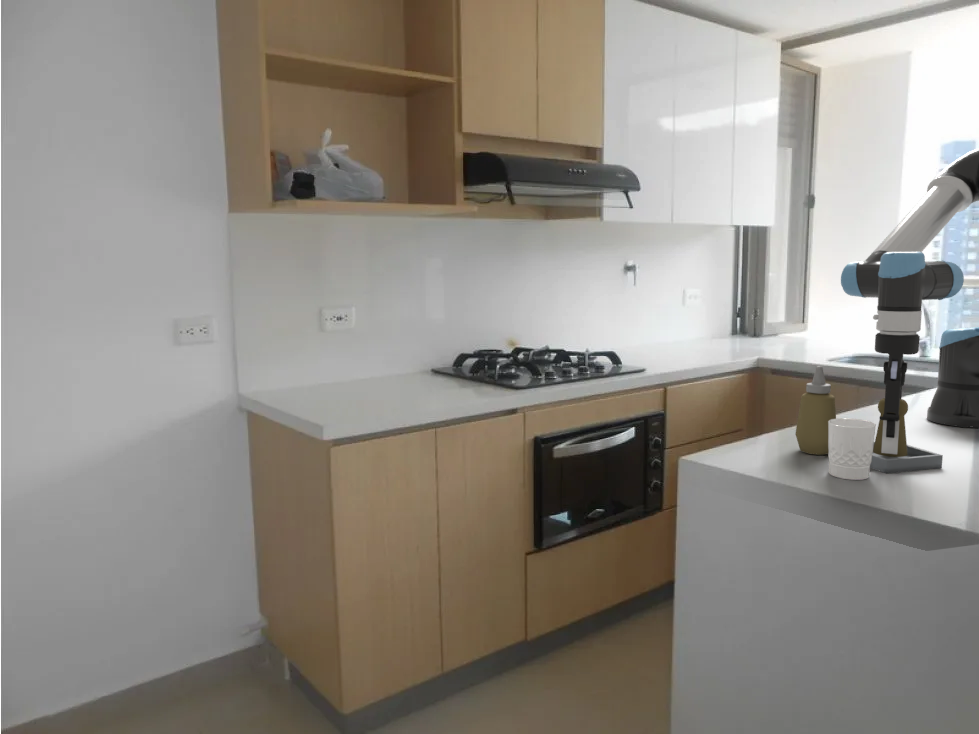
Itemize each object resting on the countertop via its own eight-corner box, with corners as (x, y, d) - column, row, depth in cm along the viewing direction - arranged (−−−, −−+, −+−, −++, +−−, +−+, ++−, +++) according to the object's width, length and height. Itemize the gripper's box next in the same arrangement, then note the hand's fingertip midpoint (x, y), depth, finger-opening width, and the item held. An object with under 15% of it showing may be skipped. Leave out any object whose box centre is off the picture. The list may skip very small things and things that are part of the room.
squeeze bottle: (808, 457, 152) (812, 370, 149) (786, 448, 160) (790, 364, 157) (844, 455, 153) (849, 368, 151) (821, 446, 161) (825, 363, 159)
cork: (901, 449, 150) (905, 395, 148) (912, 457, 144) (915, 401, 143) (869, 448, 151) (872, 395, 150) (878, 456, 145) (881, 400, 144)
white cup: (878, 482, 135) (881, 427, 134) (832, 480, 137) (834, 426, 135) (864, 470, 143) (867, 418, 142) (820, 468, 144) (823, 417, 143)
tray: (891, 451, 156) (892, 440, 155) (941, 467, 143) (942, 455, 143) (839, 456, 152) (840, 444, 152) (886, 473, 140) (887, 460, 140)
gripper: (879, 327, 154) (872, 436, 158) (871, 336, 138) (865, 458, 141) (920, 328, 151) (913, 440, 154) (918, 338, 134) (910, 463, 138)
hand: (890, 448), depth 148 cm, fingers open, 6 cm apart
